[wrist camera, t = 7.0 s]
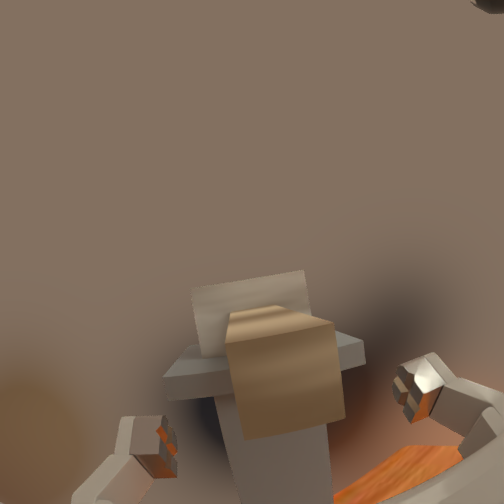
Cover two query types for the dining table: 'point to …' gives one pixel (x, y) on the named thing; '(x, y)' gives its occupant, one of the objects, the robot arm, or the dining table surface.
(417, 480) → the dining table surface
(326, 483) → the pedestal shelf
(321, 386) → the mallet
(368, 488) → the dining table surface
